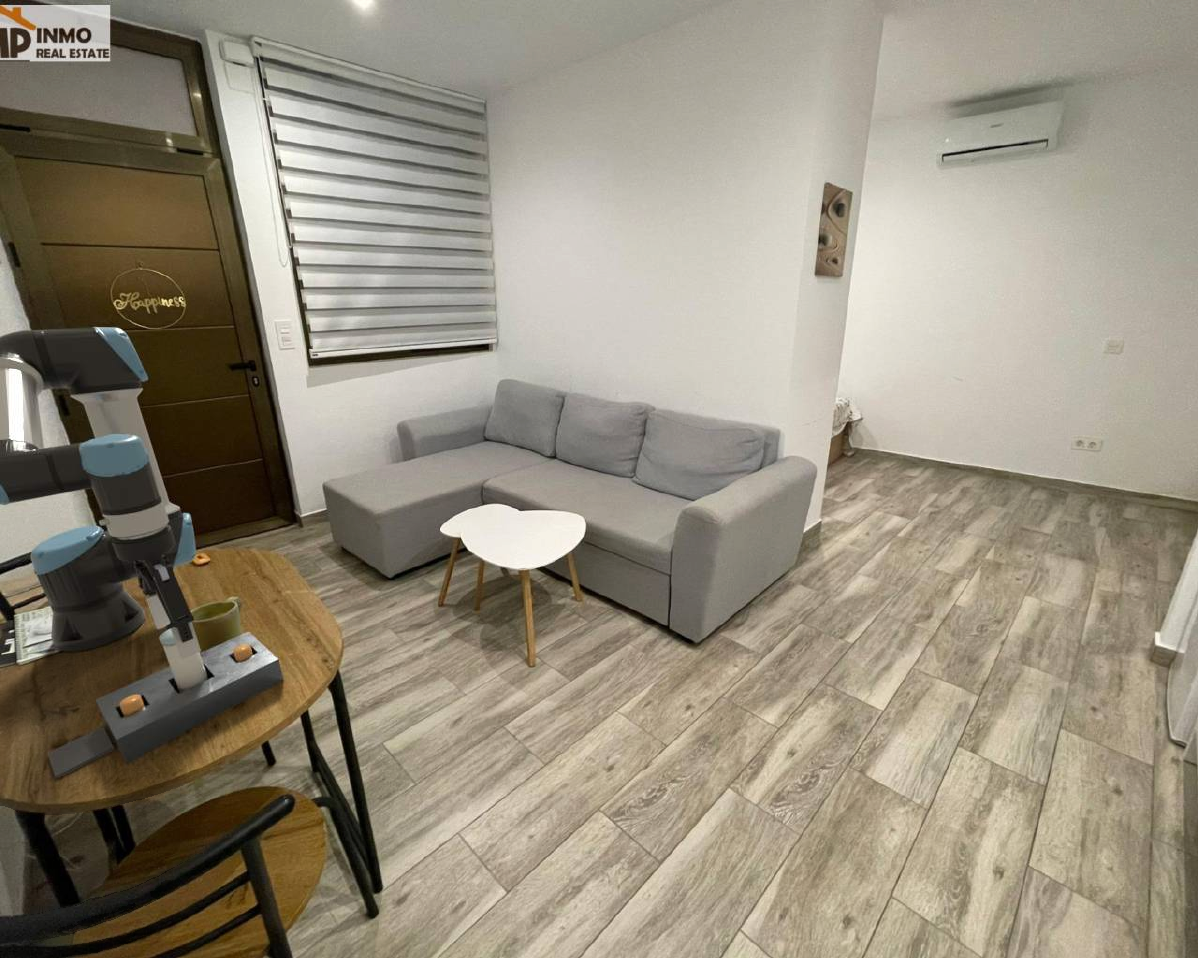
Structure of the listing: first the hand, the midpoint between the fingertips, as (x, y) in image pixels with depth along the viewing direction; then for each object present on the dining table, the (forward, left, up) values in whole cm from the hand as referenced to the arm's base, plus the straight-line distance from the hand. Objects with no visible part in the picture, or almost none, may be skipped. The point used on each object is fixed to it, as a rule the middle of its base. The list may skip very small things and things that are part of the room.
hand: (178, 639), depth 92 cm
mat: (-2, -16, -14) cm, 21 cm away
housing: (0, 0, -14) cm, 14 cm away
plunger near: (0, -8, -13) cm, 16 cm away
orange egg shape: (0, +9, -13) cm, 16 cm away
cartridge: (0, 0, -14) cm, 14 cm away
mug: (-17, +10, -14) cm, 24 cm away
